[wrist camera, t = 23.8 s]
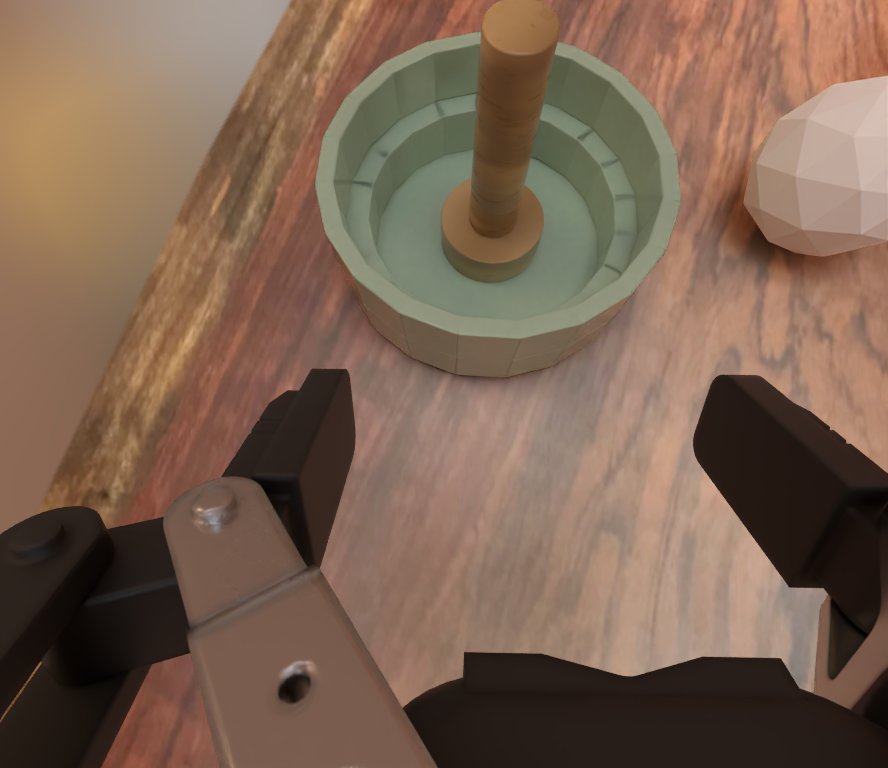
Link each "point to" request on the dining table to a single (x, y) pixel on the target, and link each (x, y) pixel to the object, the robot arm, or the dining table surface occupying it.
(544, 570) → the dining table surface
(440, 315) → the bowl
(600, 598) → the dining table surface
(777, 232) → the geometric ball
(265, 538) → the robot arm
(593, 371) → the dining table surface
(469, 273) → the wooden peg on base
